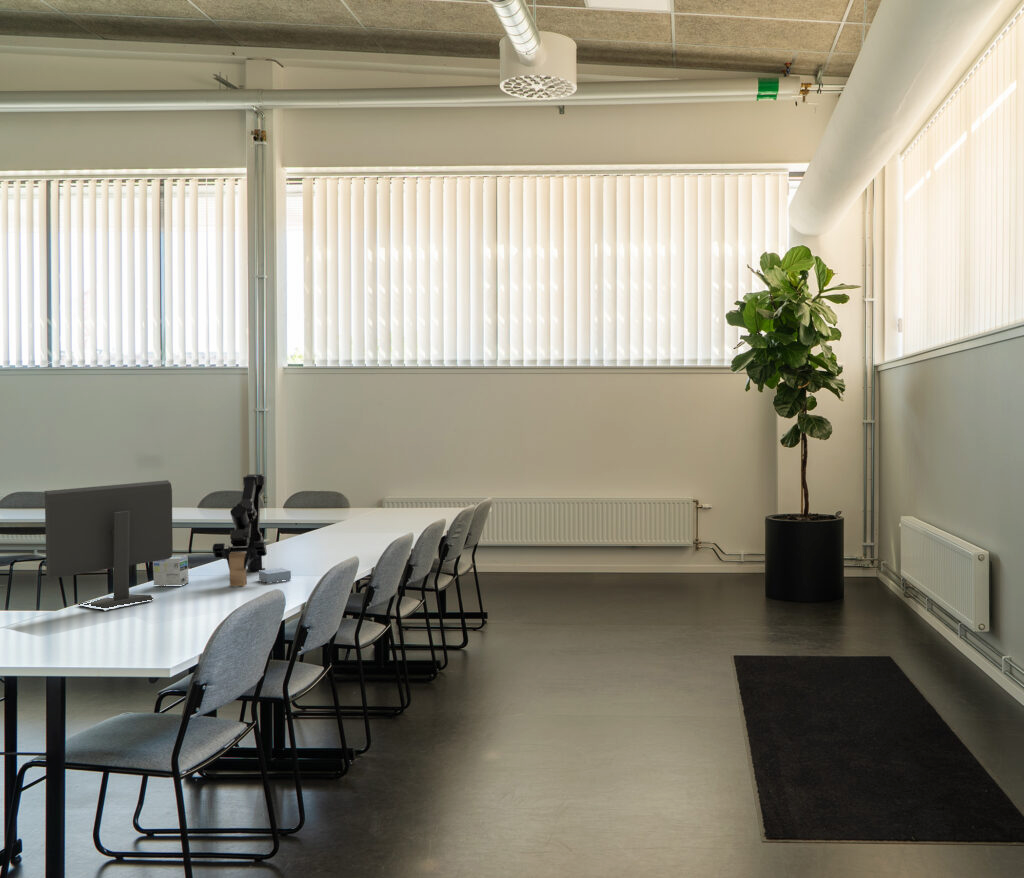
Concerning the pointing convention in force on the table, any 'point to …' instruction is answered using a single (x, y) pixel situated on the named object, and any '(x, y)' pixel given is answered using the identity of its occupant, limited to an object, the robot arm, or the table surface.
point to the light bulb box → (171, 571)
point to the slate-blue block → (274, 575)
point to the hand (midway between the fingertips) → (237, 568)
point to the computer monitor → (108, 532)
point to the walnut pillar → (237, 569)
